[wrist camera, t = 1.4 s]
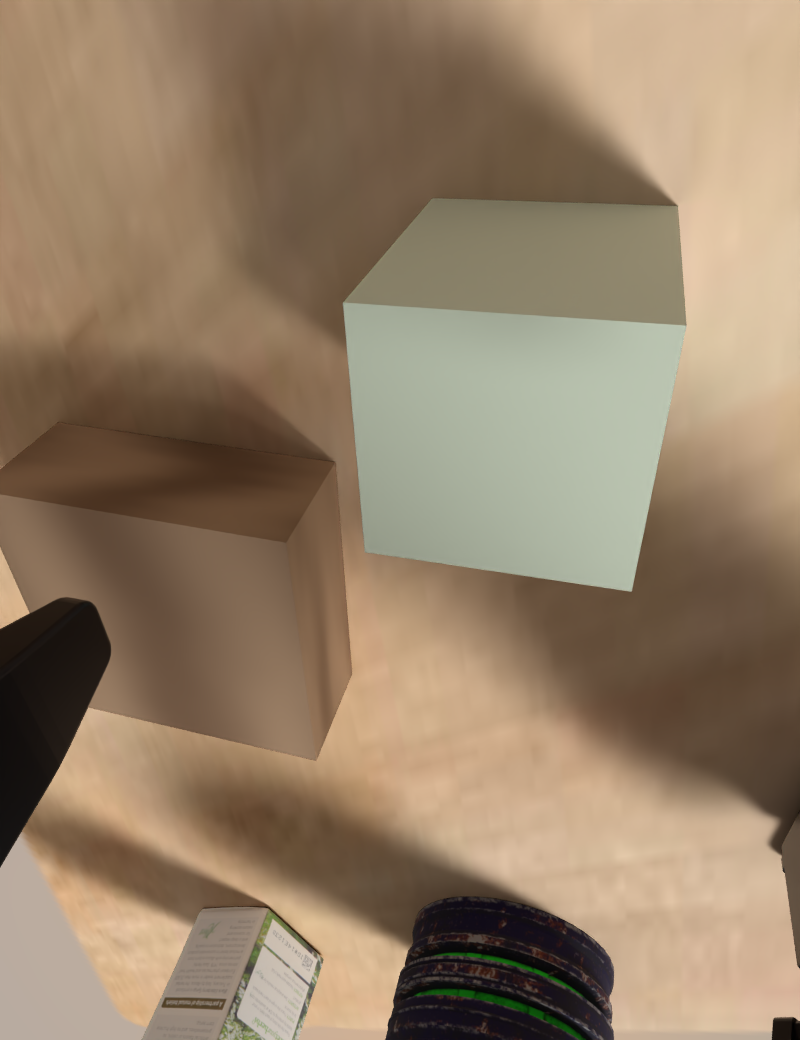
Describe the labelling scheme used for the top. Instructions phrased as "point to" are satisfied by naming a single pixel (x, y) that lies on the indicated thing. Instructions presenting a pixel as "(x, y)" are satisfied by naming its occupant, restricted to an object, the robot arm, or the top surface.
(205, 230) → the top surface
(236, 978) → the syrup box
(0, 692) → the robot arm
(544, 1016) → the storage jar
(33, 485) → the block
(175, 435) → the top surface
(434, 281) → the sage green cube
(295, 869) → the top surface
